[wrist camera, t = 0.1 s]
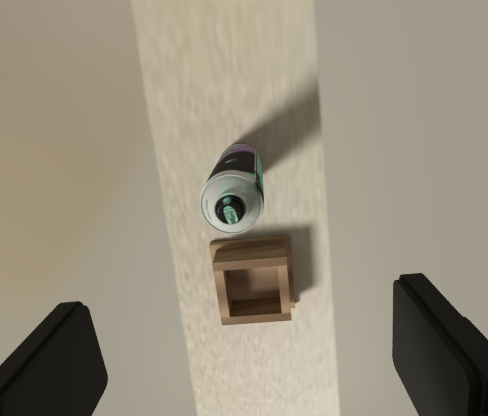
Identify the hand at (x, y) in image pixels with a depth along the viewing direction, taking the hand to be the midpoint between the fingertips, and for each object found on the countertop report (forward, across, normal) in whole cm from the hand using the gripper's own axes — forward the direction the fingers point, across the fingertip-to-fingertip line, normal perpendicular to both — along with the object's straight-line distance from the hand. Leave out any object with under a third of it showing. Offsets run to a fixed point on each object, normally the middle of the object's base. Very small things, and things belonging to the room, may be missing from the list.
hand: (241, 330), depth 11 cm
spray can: (+37, +2, +2) cm, 37 cm away
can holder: (+37, +2, +18) cm, 41 cm away
